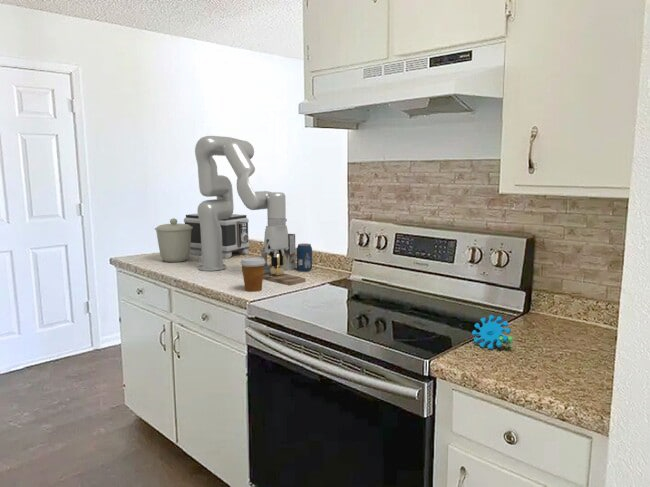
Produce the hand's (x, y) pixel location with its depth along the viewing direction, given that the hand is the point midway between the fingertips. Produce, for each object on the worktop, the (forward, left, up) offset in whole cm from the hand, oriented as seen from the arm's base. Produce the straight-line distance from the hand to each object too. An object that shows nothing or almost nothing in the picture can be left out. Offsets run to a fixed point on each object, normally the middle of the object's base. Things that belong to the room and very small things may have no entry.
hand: (277, 265), depth 215 cm
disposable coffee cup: (+7, -19, -6) cm, 21 cm away
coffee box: (-13, +16, -6) cm, 22 cm away
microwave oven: (-66, +19, -6) cm, 69 cm away
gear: (+102, -15, -6) cm, 103 cm away
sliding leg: (0, -1, -4) cm, 4 cm away
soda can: (-3, +19, -6) cm, 21 cm away
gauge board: (+1, -1, -6) cm, 6 cm away
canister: (-67, -8, -6) cm, 68 cm away
